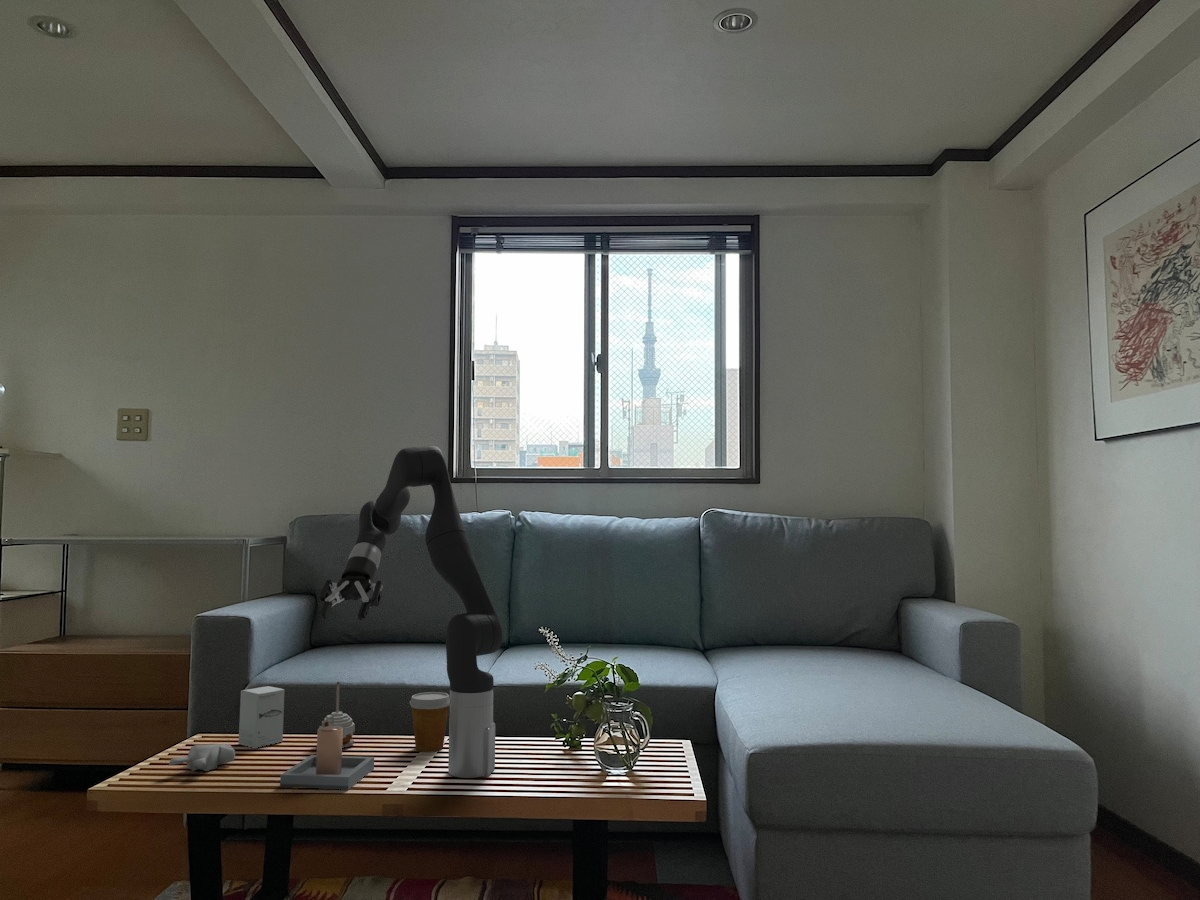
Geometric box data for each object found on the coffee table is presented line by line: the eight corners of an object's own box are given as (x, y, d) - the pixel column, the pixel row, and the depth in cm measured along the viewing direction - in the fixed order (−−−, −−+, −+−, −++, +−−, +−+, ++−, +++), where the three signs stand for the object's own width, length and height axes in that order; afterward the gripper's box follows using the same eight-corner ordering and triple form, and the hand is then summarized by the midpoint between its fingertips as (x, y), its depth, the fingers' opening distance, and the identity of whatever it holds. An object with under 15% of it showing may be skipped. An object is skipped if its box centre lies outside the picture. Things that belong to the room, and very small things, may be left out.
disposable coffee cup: (453, 751, 192) (454, 698, 193) (412, 755, 188) (413, 701, 189) (445, 741, 201) (446, 690, 202) (405, 745, 197) (406, 693, 198)
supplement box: (254, 749, 193) (256, 693, 194) (237, 744, 198) (239, 689, 199) (283, 742, 199) (285, 688, 200) (266, 737, 203) (268, 684, 204)
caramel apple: (317, 744, 198) (319, 679, 199) (351, 740, 201) (352, 677, 202) (320, 752, 191) (322, 685, 192) (355, 749, 194) (357, 683, 195)
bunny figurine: (246, 741, 186) (207, 751, 171) (244, 765, 185) (204, 777, 170) (206, 739, 187) (164, 749, 172) (204, 763, 186) (161, 775, 171)
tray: (373, 769, 178) (374, 757, 178) (348, 790, 164) (348, 777, 165) (310, 767, 180) (311, 755, 180) (280, 787, 166) (280, 774, 166)
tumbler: (344, 770, 174) (346, 726, 175) (335, 777, 170) (337, 732, 170) (321, 769, 175) (323, 725, 176) (311, 777, 170) (313, 731, 171)
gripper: (330, 554, 205) (308, 607, 192) (386, 555, 203) (368, 608, 191) (338, 575, 209) (317, 627, 197) (393, 575, 208) (376, 628, 196)
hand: (342, 617), depth 194 cm, fingers open, 8 cm apart
